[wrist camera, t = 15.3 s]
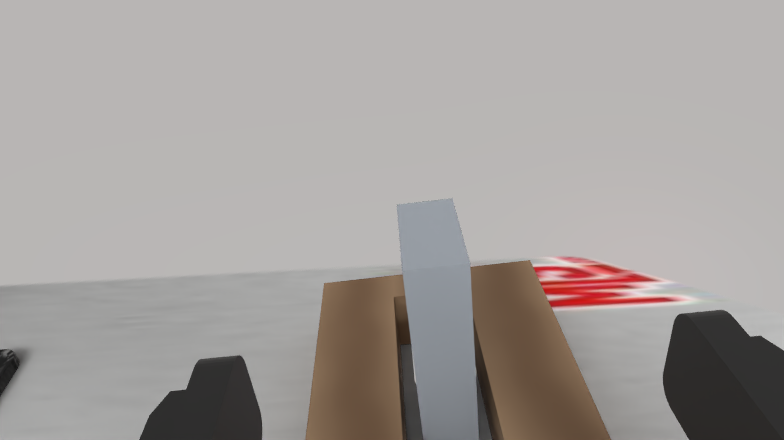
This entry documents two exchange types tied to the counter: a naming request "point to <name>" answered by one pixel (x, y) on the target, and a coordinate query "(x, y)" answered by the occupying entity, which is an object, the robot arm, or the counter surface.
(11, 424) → the counter surface
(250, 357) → the counter surface
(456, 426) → the domino
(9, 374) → the phone
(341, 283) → the rack
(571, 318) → the counter surface
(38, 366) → the counter surface
